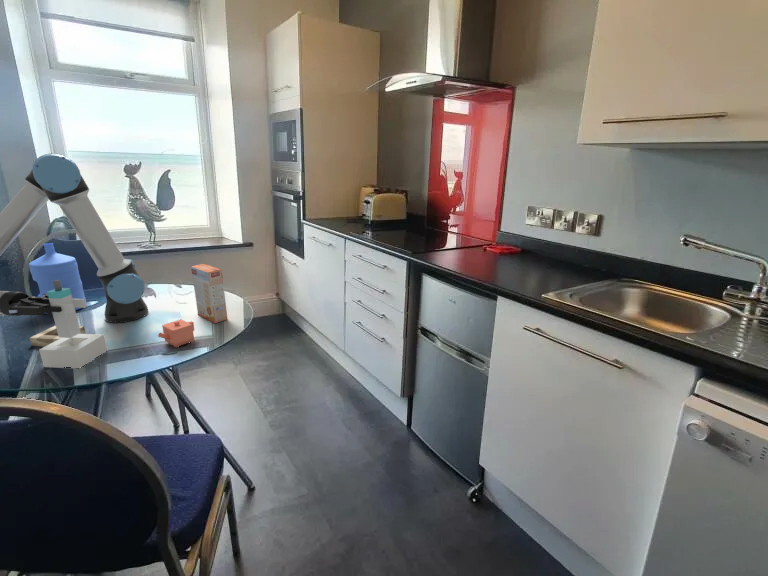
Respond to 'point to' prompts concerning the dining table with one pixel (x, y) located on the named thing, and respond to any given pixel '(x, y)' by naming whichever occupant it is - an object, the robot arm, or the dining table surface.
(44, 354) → the socket block
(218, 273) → the cracker box
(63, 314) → the plug
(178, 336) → the pink cube teapot
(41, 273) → the water jug
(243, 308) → the dining table surface
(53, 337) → the beige flat square frame
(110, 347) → the dining table surface
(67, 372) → the dining table surface
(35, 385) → the dining table surface
